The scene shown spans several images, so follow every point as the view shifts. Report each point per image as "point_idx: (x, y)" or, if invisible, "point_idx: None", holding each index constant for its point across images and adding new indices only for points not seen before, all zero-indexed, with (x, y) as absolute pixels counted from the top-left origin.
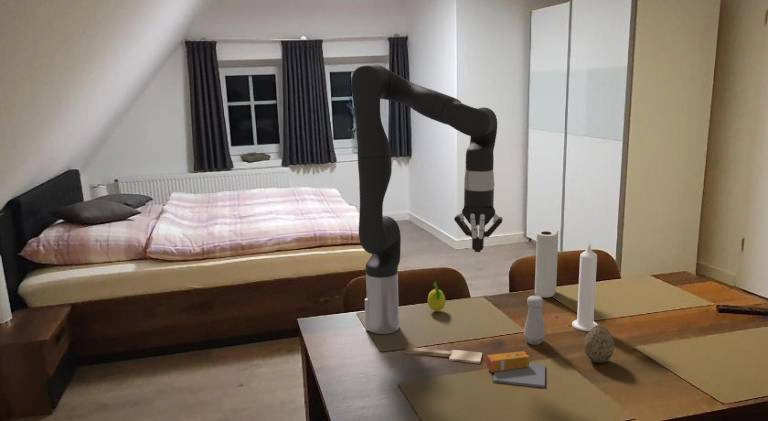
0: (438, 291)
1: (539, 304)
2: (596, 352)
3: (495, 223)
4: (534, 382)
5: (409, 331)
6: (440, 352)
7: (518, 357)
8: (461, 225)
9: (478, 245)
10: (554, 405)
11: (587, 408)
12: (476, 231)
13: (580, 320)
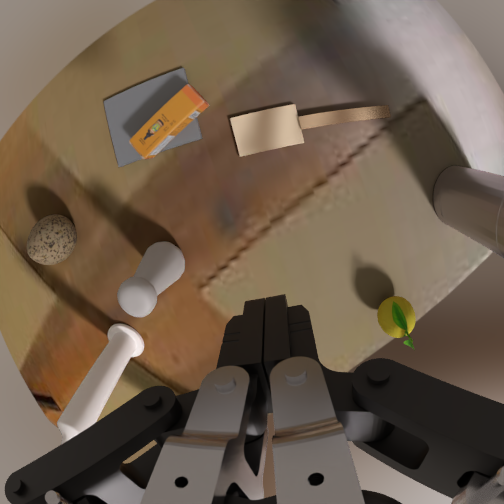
0: (400, 325)
1: (121, 284)
2: (49, 215)
3: (49, 484)
4: (118, 99)
5: (412, 199)
6: (319, 115)
7: (144, 125)
8: (480, 423)
9: (254, 326)
10: (87, 67)
11: (54, 90)
12: (275, 426)
13: (122, 339)
